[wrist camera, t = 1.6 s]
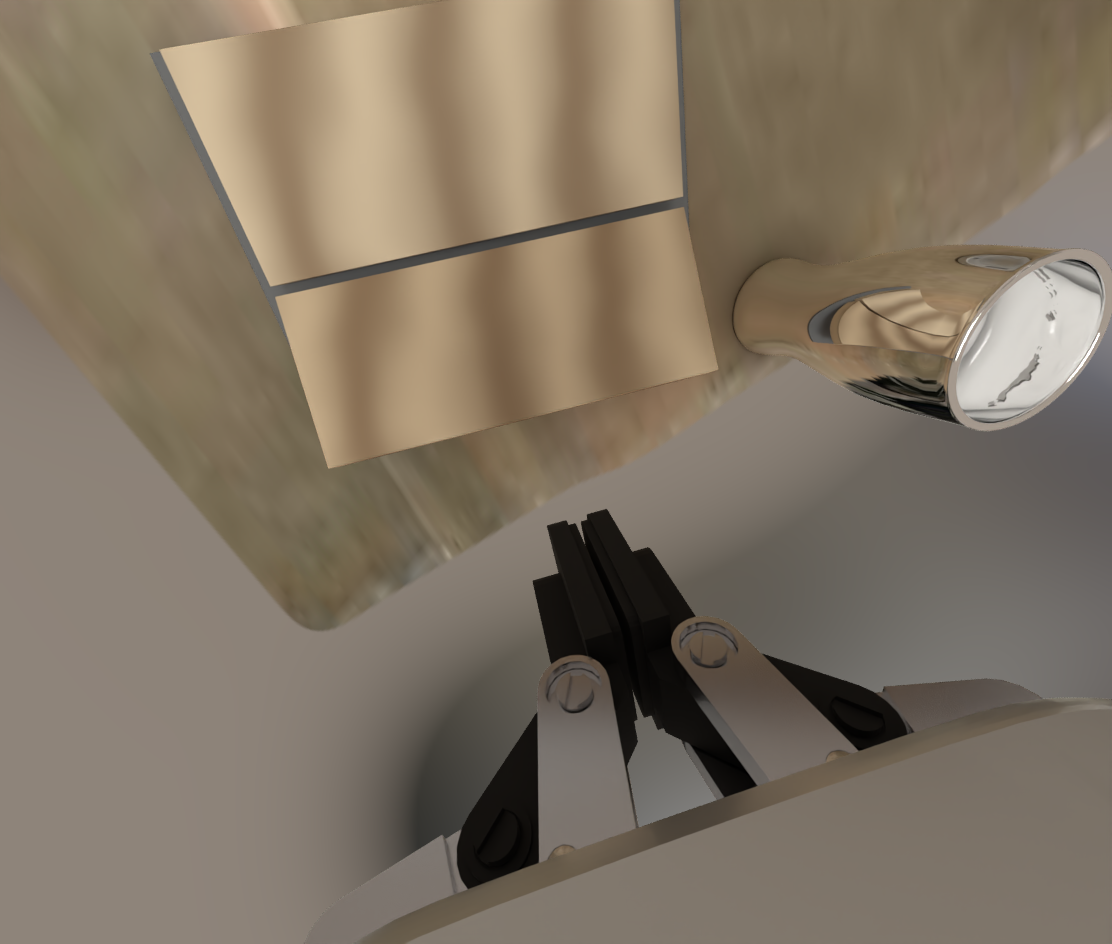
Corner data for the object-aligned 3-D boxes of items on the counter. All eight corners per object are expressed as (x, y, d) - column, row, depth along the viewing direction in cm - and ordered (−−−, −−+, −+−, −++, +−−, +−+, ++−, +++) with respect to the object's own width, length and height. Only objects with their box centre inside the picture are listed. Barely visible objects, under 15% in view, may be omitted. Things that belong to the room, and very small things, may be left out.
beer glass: (708, 300, 28) (925, 337, 15) (799, 224, 27) (1119, 190, 14) (752, 380, 31) (964, 469, 18) (835, 314, 30) (1125, 357, 17)
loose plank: (673, 220, 25) (684, 206, 24) (706, 373, 26) (718, 369, 24) (290, 305, 23) (274, 297, 22) (339, 466, 24) (328, 468, 23)
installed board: (658, -20, 20) (672, -39, 19) (671, 199, 25) (683, 196, 23) (180, 64, 19) (159, 49, 17) (281, 285, 23) (270, 286, 22)
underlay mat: (674, -33, 21) (677, -38, 20) (692, 372, 30) (695, 373, 30) (155, 57, 19) (149, 53, 18) (346, 459, 28) (345, 462, 28)
